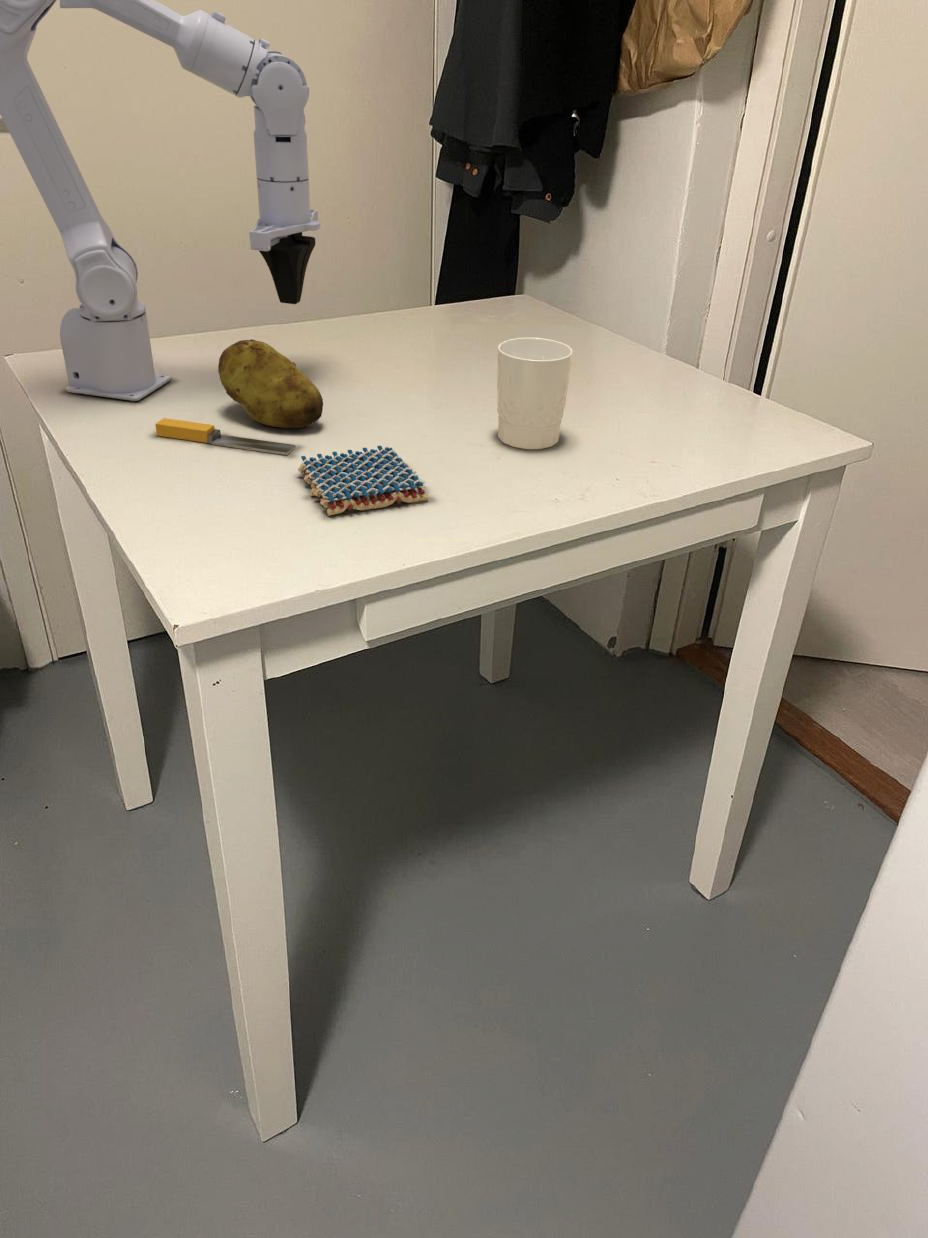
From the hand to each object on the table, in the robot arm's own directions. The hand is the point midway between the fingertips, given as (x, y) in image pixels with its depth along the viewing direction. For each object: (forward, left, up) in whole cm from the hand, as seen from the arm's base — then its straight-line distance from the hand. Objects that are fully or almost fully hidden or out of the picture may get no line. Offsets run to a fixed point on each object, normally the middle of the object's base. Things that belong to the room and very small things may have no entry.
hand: (290, 302), depth 115 cm
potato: (+3, -13, -10) cm, 17 cm away
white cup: (+32, -9, -10) cm, 34 cm away
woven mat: (+19, -27, -10) cm, 34 cm away
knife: (+1, -21, -9) cm, 23 cm away
